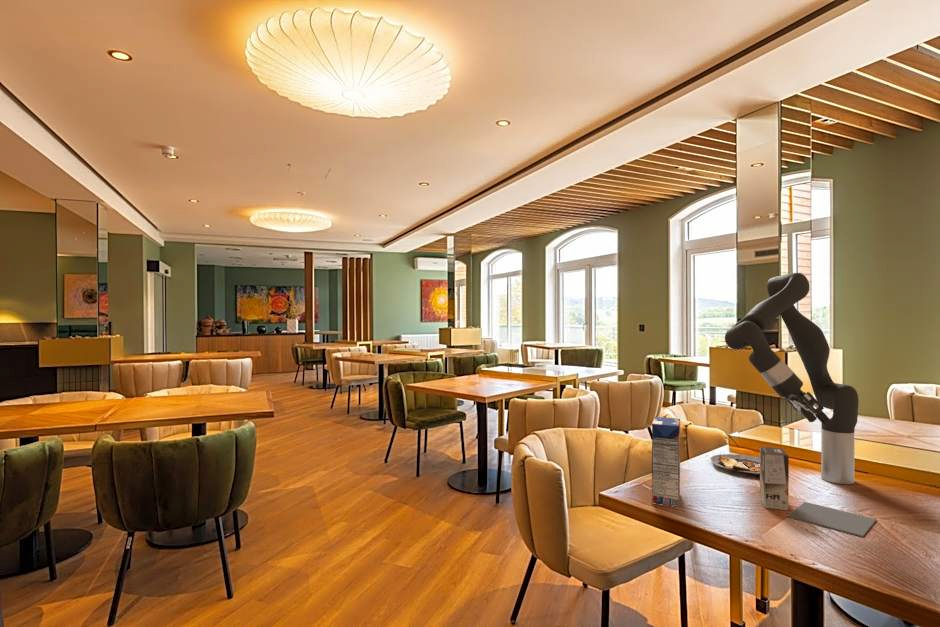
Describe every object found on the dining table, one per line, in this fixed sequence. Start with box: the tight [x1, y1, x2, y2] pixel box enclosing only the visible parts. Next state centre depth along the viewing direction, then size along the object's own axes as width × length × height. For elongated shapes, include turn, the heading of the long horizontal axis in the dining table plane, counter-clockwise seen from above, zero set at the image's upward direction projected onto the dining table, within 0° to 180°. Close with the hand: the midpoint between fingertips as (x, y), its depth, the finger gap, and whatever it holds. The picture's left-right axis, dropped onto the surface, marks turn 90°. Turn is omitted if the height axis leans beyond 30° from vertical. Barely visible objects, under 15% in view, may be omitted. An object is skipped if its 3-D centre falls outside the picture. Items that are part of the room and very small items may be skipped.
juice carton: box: [651, 416, 681, 508], centre depth 154 cm, size 12×8×24 cm, turn 156°
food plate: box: [709, 453, 760, 476], centre depth 186 cm, size 25×23×4 cm
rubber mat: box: [786, 501, 877, 538], centre depth 140 cm, size 16×17×1 cm
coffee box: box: [759, 446, 790, 511], centre depth 151 cm, size 9×6×16 cm
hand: (820, 421), depth 149 cm, fingers open, 8 cm apart
